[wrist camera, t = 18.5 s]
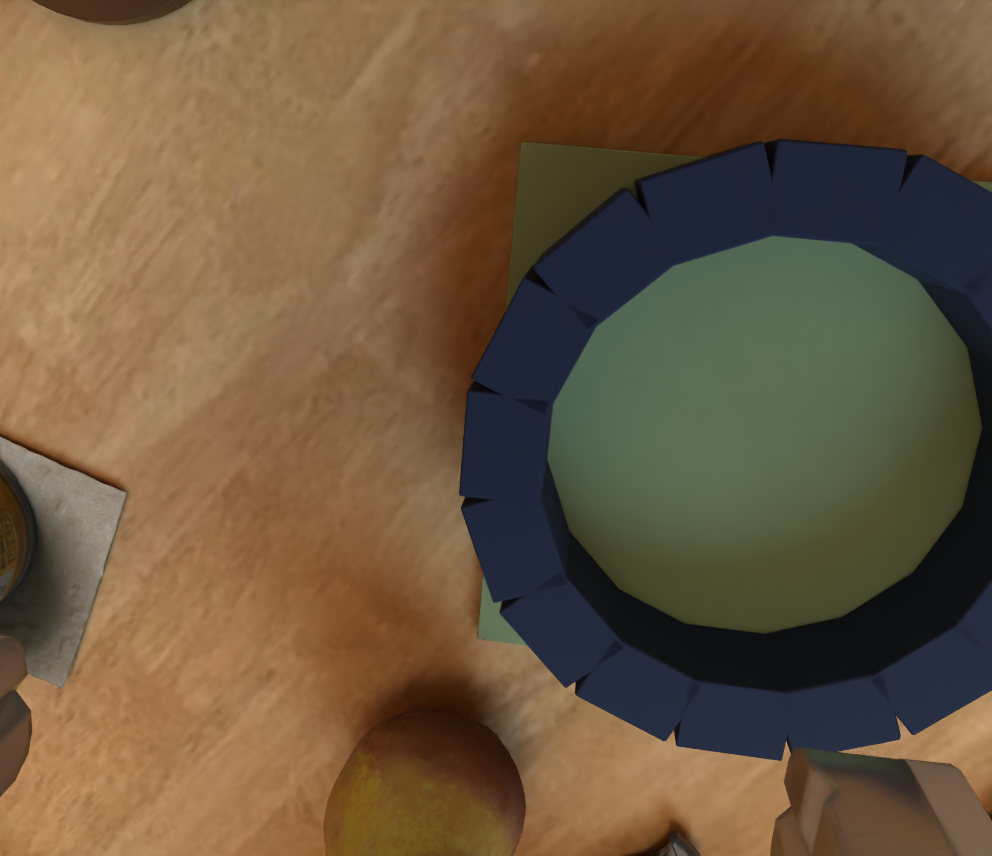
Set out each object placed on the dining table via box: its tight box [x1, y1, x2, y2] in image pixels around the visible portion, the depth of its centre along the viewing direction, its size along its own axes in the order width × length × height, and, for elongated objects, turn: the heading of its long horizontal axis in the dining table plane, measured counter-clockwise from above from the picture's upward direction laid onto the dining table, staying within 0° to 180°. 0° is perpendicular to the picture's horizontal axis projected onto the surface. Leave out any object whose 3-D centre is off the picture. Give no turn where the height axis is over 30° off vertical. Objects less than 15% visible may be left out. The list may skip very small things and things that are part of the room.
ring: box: [459, 139, 992, 761], centre depth 22 cm, size 15×15×3 cm
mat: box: [477, 142, 992, 645], centre depth 24 cm, size 14×14×1 cm
